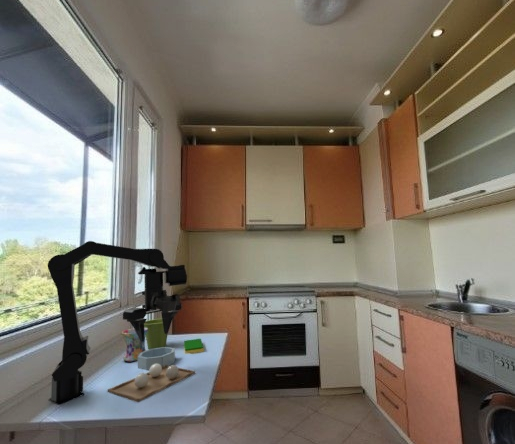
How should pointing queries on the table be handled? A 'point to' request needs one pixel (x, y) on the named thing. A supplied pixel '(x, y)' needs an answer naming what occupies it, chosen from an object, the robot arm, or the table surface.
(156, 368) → the white ball
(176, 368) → the pebble
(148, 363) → the bowl
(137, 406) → the table surface
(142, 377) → the pebble
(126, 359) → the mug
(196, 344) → the dish sponge
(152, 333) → the plant pot
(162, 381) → the tray
